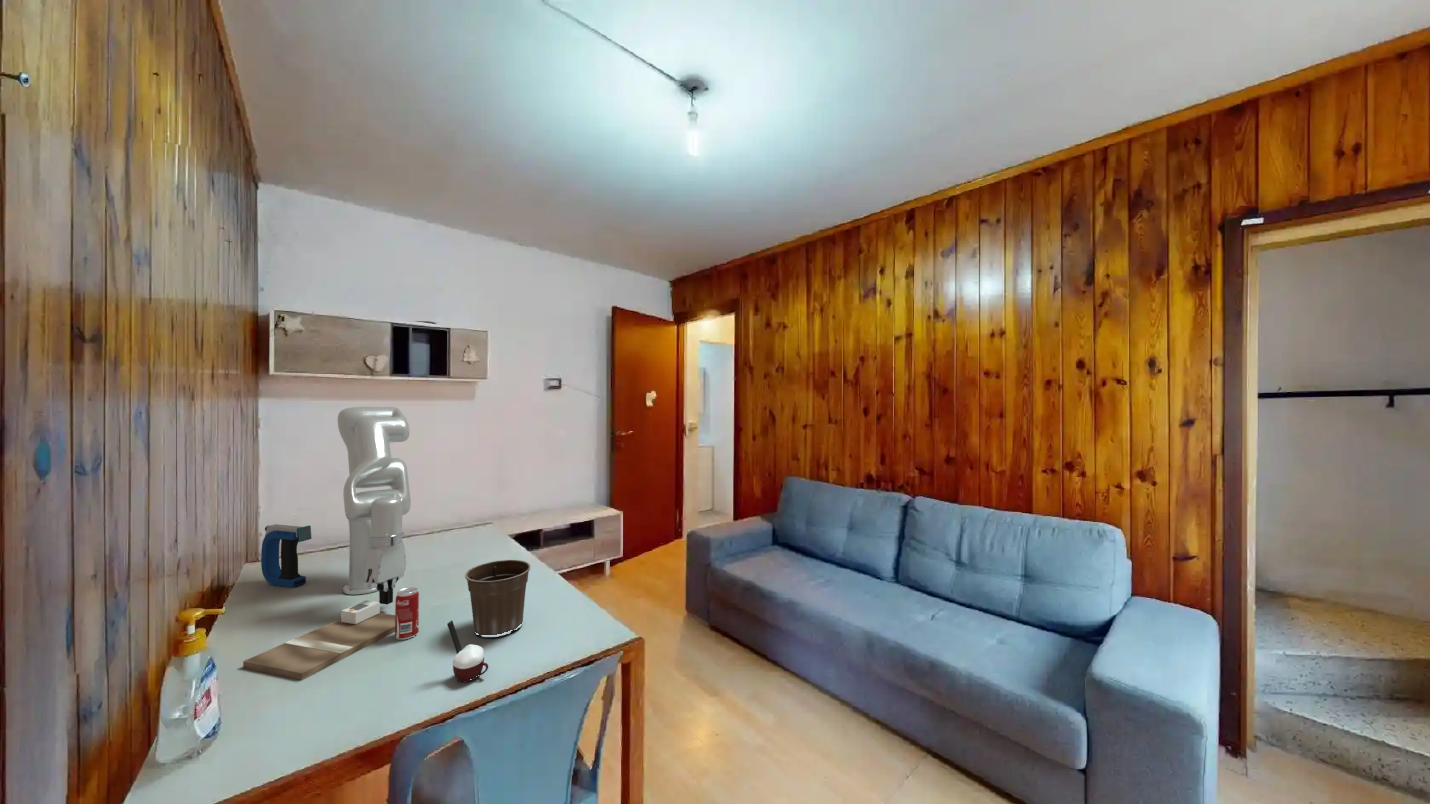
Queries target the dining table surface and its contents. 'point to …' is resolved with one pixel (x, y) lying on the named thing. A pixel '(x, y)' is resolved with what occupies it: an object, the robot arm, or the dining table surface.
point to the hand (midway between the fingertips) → (386, 602)
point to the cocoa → (466, 658)
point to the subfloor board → (321, 647)
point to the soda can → (406, 613)
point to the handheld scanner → (283, 554)
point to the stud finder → (360, 612)
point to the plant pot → (497, 595)
